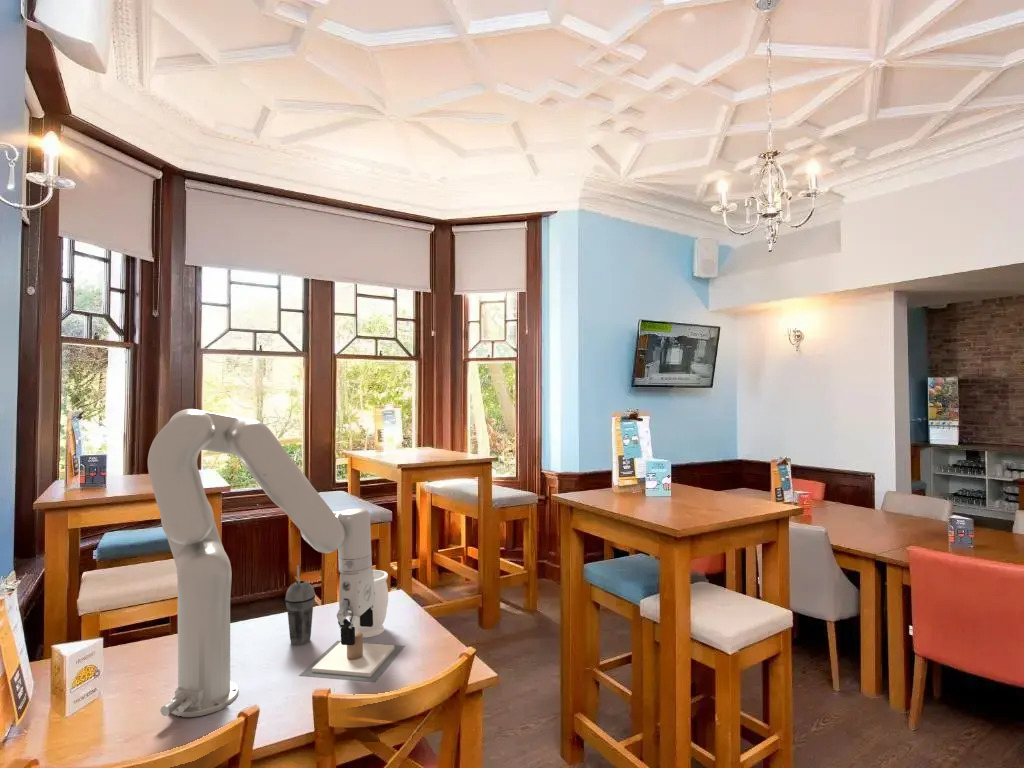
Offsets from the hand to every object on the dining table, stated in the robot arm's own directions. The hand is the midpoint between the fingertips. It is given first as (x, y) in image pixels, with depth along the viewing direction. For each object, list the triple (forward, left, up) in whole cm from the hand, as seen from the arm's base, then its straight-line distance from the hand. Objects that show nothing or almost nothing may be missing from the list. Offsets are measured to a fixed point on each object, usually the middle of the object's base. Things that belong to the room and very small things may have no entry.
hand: (357, 635), depth 135 cm
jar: (+16, +5, -6) cm, 17 cm away
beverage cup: (+7, +19, -6) cm, 21 cm away
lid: (0, +1, -6) cm, 6 cm away
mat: (0, +1, -6) cm, 6 cm away
